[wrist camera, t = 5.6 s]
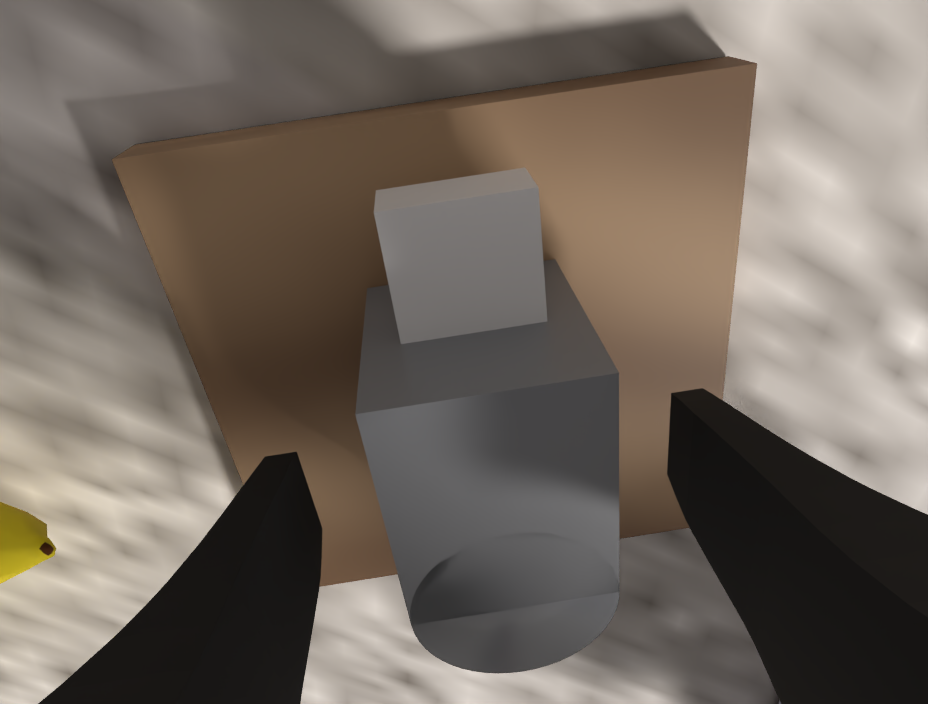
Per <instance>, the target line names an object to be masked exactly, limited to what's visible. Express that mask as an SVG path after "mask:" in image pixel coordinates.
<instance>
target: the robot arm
mask: <svg viewBox="0 0 928 704" xmlns="http://www.w3.org/2000/svg"><path fill="white" fill-rule="evenodd" d="M667 475H668V478H669V481H670V483H671V486H672V488H673V491H674V493H675V496H676V498H677V501H678V503H679V506H680V508H681V510H682V513H683V515H684V517H685V520H686V522H687V524H688V525H689V527H690V529H691V531H692V533H693V534H694V536H695V538H696V540H697V542H698V543H699V545H700V547H701V549H702V551H703V552H704V554H705V556H706V558H707V559H708V561H709V563H710V565H711V566H712V568H713V570H714V572H715V573H716V575H717V577H718V579H719V580H720V582H721V584H722V586H723V587H724V589H725V591H726V593H727V594H728V596H729V598H730V600H731V601H732V603H733V605H734V607H735V608H736V610H737V612H738V614H739V615H740V617H741V619H742V621H743V622H744V624H745V626H746V628H747V630H748V632H749V634H750V636H751V638H752V640H753V642H754V644H755V646H756V648H757V650H758V652H759V655H760V657H761V659H762V661H763V664H764V666H765V668H766V670H767V673H768V675H769V677H770V679H771V682H772V684H773V686H774V688H775V691H776V693H777V695H778V697H779V704H928V515H927V514H925V513H922V512H920V511H918V510H915V509H913V508H911V507H909V506H907V505H905V504H902V503H900V502H898V501H896V500H894V499H892V498H890V497H888V496H885V495H883V494H881V493H879V492H877V491H875V490H873V489H871V488H869V487H867V486H865V485H863V484H861V483H859V482H857V481H855V480H853V479H851V478H849V477H847V476H846V475H844V474H842V473H840V472H838V471H836V470H835V469H833V468H831V467H829V466H827V465H826V464H824V463H822V462H820V461H818V460H817V459H815V458H813V457H811V456H810V455H808V454H806V453H805V452H803V451H801V450H800V449H798V448H796V447H795V446H793V445H791V444H790V443H788V442H786V441H785V440H783V439H782V438H780V437H778V436H777V435H775V434H773V433H772V432H770V431H769V430H767V429H766V428H764V427H762V426H761V425H759V424H758V423H756V422H755V421H753V420H752V419H750V418H749V417H747V416H746V415H744V414H742V413H741V412H739V411H738V410H736V409H735V408H733V407H732V406H730V405H729V404H727V403H726V402H724V401H723V400H721V399H719V398H718V397H716V396H715V395H713V394H712V393H710V392H708V391H707V390H705V389H703V388H700V389H694V390H687V391H681V392H675V393H671V407H670V426H669V445H668V465H667ZM321 561H322V526H321V523H320V520H319V517H318V514H317V511H316V508H315V505H314V502H313V499H312V496H311V493H310V490H309V487H308V484H307V481H306V478H305V475H304V472H303V469H302V466H301V463H300V460H299V457H298V454H297V452H291V453H284V454H278V455H272V456H265V457H264V458H263V460H262V461H261V462H260V464H259V465H258V466H257V468H256V469H255V470H254V471H253V473H252V474H251V476H250V477H249V478H248V480H247V481H246V482H245V484H244V485H243V487H242V488H241V489H240V491H239V492H238V493H237V495H236V496H235V497H234V499H233V500H232V502H231V503H230V504H229V506H228V507H227V508H226V510H225V511H224V512H223V514H222V515H221V516H220V518H219V519H218V520H217V522H216V523H215V524H214V525H213V527H212V528H211V529H210V531H209V532H208V533H207V535H206V536H205V537H204V538H203V540H202V541H201V542H200V544H199V545H198V546H197V547H196V548H195V550H194V551H193V552H192V553H191V554H190V556H189V557H188V558H187V559H186V560H185V562H184V563H183V564H182V565H181V566H180V568H179V569H178V570H177V571H176V572H175V573H174V575H173V576H172V577H171V578H170V579H169V581H168V582H167V583H166V584H165V585H164V586H163V587H162V588H161V590H160V591H159V592H158V593H157V594H156V595H155V596H154V597H153V598H152V599H151V600H150V601H149V602H148V603H147V605H146V606H145V607H144V608H143V609H142V610H141V611H140V612H139V613H138V614H137V615H136V616H135V617H134V618H133V619H132V620H131V621H130V622H129V623H128V624H127V625H126V626H125V627H124V628H123V629H122V630H121V631H120V632H119V633H118V634H117V635H116V636H115V637H114V638H113V639H111V640H110V641H109V642H108V643H107V644H106V645H105V646H104V647H103V648H102V649H100V650H99V651H98V652H97V653H96V654H95V655H94V656H93V657H92V658H90V659H89V660H88V661H87V662H86V663H85V664H84V665H83V666H82V667H80V668H79V669H78V670H77V671H76V672H75V673H74V674H73V675H72V676H70V677H69V678H68V679H67V680H66V681H65V682H64V683H63V684H61V685H60V686H59V687H58V688H57V689H56V690H54V691H53V692H52V693H51V694H49V695H48V696H47V697H46V698H45V699H43V700H42V701H41V702H40V703H39V704H300V701H301V694H302V688H303V682H304V676H305V670H306V664H307V658H308V652H309V646H310V640H311V634H312V629H313V623H314V617H315V611H316V604H317V598H318V592H319V586H320V579H321Z"/></svg>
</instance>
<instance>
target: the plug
mask: <svg viewBox="0 0 928 704" xmlns="http://www.w3.org/2000/svg"><path fill="white" fill-rule="evenodd" d="M374 216H375V221H376V226H377V231H378V235H379V240H380V245H381V250H382V255H383V260H384V265H385V269H386V274H387V279H388V284H389V285H385V286H378V287H372V288H367V296H366V306H365V317H364V327H363V338H362V349H361V359H360V370H359V380H358V391H357V401H356V412H355V415H356V419H357V423H358V426H359V430H360V434H361V438H362V442H363V445H364V449H365V453H366V457H367V460H368V464H369V468H370V472H371V475H372V479H373V483H374V487H375V490H376V494H377V498H378V502H379V505H380V509H381V513H382V517H383V520H384V524H385V528H386V532H387V535H388V539H389V543H390V547H391V550H392V554H393V558H394V562H395V565H396V569H397V573H398V577H399V580H400V584H401V588H402V592H403V595H404V599H405V603H406V607H407V610H408V614H409V618H410V622H411V626H412V628H413V631H414V633H415V635H416V637H417V639H418V640H419V642H420V643H421V644H422V645H423V646H424V647H425V649H426V650H428V651H429V652H430V653H431V654H433V655H434V656H435V657H437V658H439V659H440V660H442V661H444V662H446V663H448V664H451V665H453V666H456V667H459V668H462V669H466V670H471V671H476V672H484V673H513V672H521V671H527V670H532V669H537V668H540V667H544V666H547V665H550V664H553V663H555V662H558V661H561V660H563V659H565V658H567V657H569V656H571V655H573V654H575V653H576V652H578V651H580V650H581V649H583V648H584V647H586V646H587V645H588V644H590V643H591V642H592V641H593V640H594V639H595V638H597V637H598V636H599V635H600V634H601V632H602V631H603V630H604V629H605V628H606V627H607V625H608V624H609V622H610V621H611V619H612V617H613V615H614V613H615V611H616V608H617V605H618V601H619V372H618V370H617V368H616V367H615V365H614V363H613V361H612V359H611V358H610V356H609V354H608V352H607V350H606V349H605V347H604V345H603V343H602V342H601V340H600V338H599V336H598V334H597V333H596V331H595V329H594V327H593V326H592V324H591V322H590V320H589V318H588V317H587V315H586V313H585V311H584V310H583V308H582V306H581V304H580V302H579V301H578V299H577V297H576V295H575V293H574V292H573V290H572V288H571V286H570V285H569V283H568V281H567V279H566V277H565V276H564V274H563V272H562V270H561V269H560V267H559V265H558V263H557V261H556V260H555V259H553V260H546V261H543V248H542V233H541V218H540V203H539V188H538V186H537V184H536V183H535V181H534V180H533V178H532V177H531V175H530V174H529V172H528V171H527V170H526V168H519V169H512V170H506V171H499V172H493V173H486V174H479V175H473V176H466V177H460V178H453V179H447V180H440V181H433V182H427V183H420V184H414V185H407V186H401V187H394V188H388V189H381V190H376V194H375V205H374Z"/></svg>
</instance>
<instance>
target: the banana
mask: <svg viewBox="0 0 928 704" xmlns="http://www.w3.org/2000/svg"><path fill="white" fill-rule="evenodd" d="M55 551H56V547H55V546H54V545H53V543H52V542H51V540H50V539H49V538H48V537H47V524H45V523H44V522H42V521H41V520H39V519H37V518H36V517H34V516H33V515H31V514H29V513H28V512H25V511H23V510H20V509H17V508H15V507H12V506H10V505H7V504H4V503H2V502H0V584H1V583H3V582H5V581H6V580H8V579H10V578H12V577H14V576H16V575H18V574H20V573H22V572H24V571H26V570H28V569H30V568H32V567H33V566H35V565H37V564H39V563H41V562H42V561H44V560H46V559H49V558H51V557H53V556H54V555H55Z"/></svg>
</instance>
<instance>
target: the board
mask: <svg viewBox="0 0 928 704" xmlns="http://www.w3.org/2000/svg"><path fill="white" fill-rule="evenodd" d="M756 68H757V63H754V62H749V61H745V60H741V59H737V58H733V57H729V56H727V57H721V58H714V59H707V60H700V61H694V62H687V63H680V64H674V65H667V66H660V67H653V68H647V69H640V70H633V71H627V72H620V73H613V74H606V75H600V76H593V77H586V78H579V79H573V80H566V81H559V82H553V83H546V84H539V85H532V86H526V87H519V88H512V89H506V90H499V91H492V92H485V93H479V94H472V95H465V96H459V97H452V98H445V99H438V100H432V101H425V102H418V103H411V104H405V105H398V106H391V107H385V108H378V109H371V110H364V111H358V112H351V113H344V114H338V115H331V116H324V117H317V118H311V119H304V120H297V121H291V122H284V123H277V124H270V125H264V126H257V127H250V128H244V129H237V130H230V131H223V132H217V133H210V134H203V135H196V136H190V137H183V138H176V139H170V140H163V141H156V142H149V143H143V144H136V145H134V146H132V147H130V148H129V149H127V150H126V151H124V152H123V153H121V154H119V155H118V156H116V157H115V158H113V159H112V162H113V164H114V167H115V169H116V171H117V174H118V176H119V179H120V181H121V184H122V186H123V189H124V191H125V194H126V196H127V199H128V201H129V204H130V206H131V209H132V211H133V213H134V216H135V218H136V221H137V223H138V226H139V228H140V231H141V233H142V236H143V238H144V241H145V243H146V246H147V248H148V251H149V253H150V255H151V258H152V260H153V263H154V265H155V268H156V270H157V273H158V275H159V278H160V280H161V283H162V285H163V288H164V290H165V293H166V295H167V297H168V300H169V302H170V305H171V307H172V310H173V312H174V315H175V317H176V320H177V322H178V325H179V327H180V330H181V332H182V335H183V337H184V339H185V342H186V344H187V347H188V349H189V352H190V354H191V357H192V359H193V362H194V364H195V367H196V369H197V372H198V374H199V377H200V379H201V381H202V384H203V386H204V389H205V391H206V394H207V396H208V399H209V401H210V404H211V406H212V409H213V411H214V414H215V416H216V419H217V421H218V423H219V426H220V428H221V431H222V433H223V436H224V438H225V441H226V443H227V446H228V448H229V451H230V453H231V456H232V458H233V460H234V463H235V465H236V468H237V470H238V473H239V475H240V478H241V480H242V483H243V485H244V484H245V482H246V481H247V480H248V478H249V477H250V476H251V474H252V473H253V471H254V470H255V469H256V468H257V466H258V465H259V464H260V462H261V461H262V460H263V458H264V457H265V456H272V455H278V454H284V453H291V452H297V454H298V457H299V460H300V463H301V466H302V469H303V472H304V475H305V478H306V481H307V484H308V487H309V490H310V493H311V496H312V499H313V502H314V505H315V508H316V511H317V514H318V517H319V520H320V523H321V526H322V561H321V579H320V586H326V585H333V584H339V583H345V582H351V581H358V580H364V579H370V578H377V577H383V576H389V575H395V574H398V573H397V569H396V565H395V562H394V558H393V554H392V550H391V547H390V543H389V539H388V535H387V532H386V528H385V524H384V520H383V517H382V513H381V509H380V505H379V502H378V498H377V494H376V490H375V487H374V483H373V479H372V475H371V472H370V468H369V464H368V460H367V457H366V453H365V449H364V445H363V442H362V438H361V434H360V430H359V426H358V423H357V419H356V415H355V412H356V401H357V391H358V380H359V370H360V359H361V349H362V338H363V327H364V317H365V306H366V296H367V288H372V287H378V286H385V285H389V284H388V279H387V274H386V269H385V265H384V260H383V255H382V250H381V245H380V240H379V235H378V231H377V226H376V221H375V216H374V205H375V194H376V190H381V189H388V188H394V187H401V186H407V185H414V184H420V183H427V182H433V181H440V180H447V179H453V178H460V177H466V176H473V175H479V174H486V173H493V172H499V171H506V170H512V169H519V168H526V170H527V171H528V172H529V174H530V175H531V177H532V178H533V180H534V181H535V183H536V184H537V186H538V188H539V203H540V218H541V233H542V248H543V261H546V260H553V259H555V260H556V261H557V263H558V265H559V267H560V269H561V270H562V272H563V274H564V276H565V277H566V279H567V281H568V283H569V285H570V286H571V288H572V290H573V292H574V293H575V295H576V297H577V299H578V301H579V302H580V304H581V306H582V308H583V310H584V311H585V313H586V315H587V317H588V318H589V320H590V322H591V324H592V326H593V327H594V329H595V331H596V333H597V334H598V336H599V338H600V340H601V342H602V343H603V345H604V347H605V349H606V350H607V352H608V354H609V356H610V358H611V359H612V361H613V363H614V365H615V367H616V368H617V370H618V372H619V539H621V538H627V537H634V536H640V535H646V534H652V533H659V532H665V531H671V530H677V529H684V528H690V527H689V525H688V524H687V522H686V520H685V517H684V515H683V513H682V510H681V508H680V506H679V503H678V501H677V498H676V496H675V493H674V491H673V488H672V486H671V483H670V481H669V478H668V475H667V465H668V445H669V426H670V407H671V393H675V392H681V391H687V390H694V389H700V388H703V389H705V390H707V391H708V392H710V393H712V394H713V395H715V396H716V397H718V398H719V399H721V400H722V399H723V390H724V380H725V370H726V361H727V351H728V341H729V331H730V322H731V312H732V302H733V292H734V283H735V273H736V263H737V253H738V244H739V234H740V224H741V214H742V205H743V195H744V185H745V175H746V166H747V156H748V146H749V136H750V127H751V117H752V107H753V97H754V88H755V78H756ZM320 586H319V587H320Z"/></svg>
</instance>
